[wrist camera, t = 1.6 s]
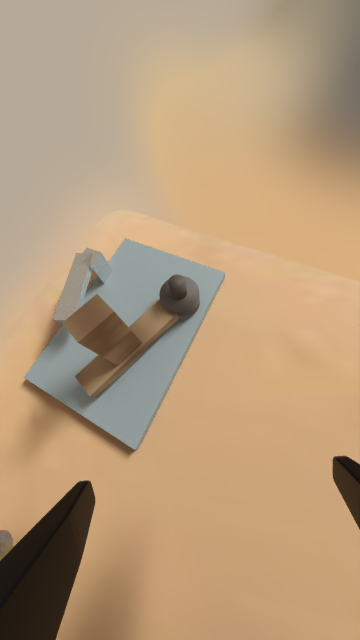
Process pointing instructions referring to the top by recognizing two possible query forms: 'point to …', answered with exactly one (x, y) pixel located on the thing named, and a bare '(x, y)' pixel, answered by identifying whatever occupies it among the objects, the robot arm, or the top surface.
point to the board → (129, 304)
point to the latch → (127, 331)
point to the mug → (5, 543)
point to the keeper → (81, 281)
